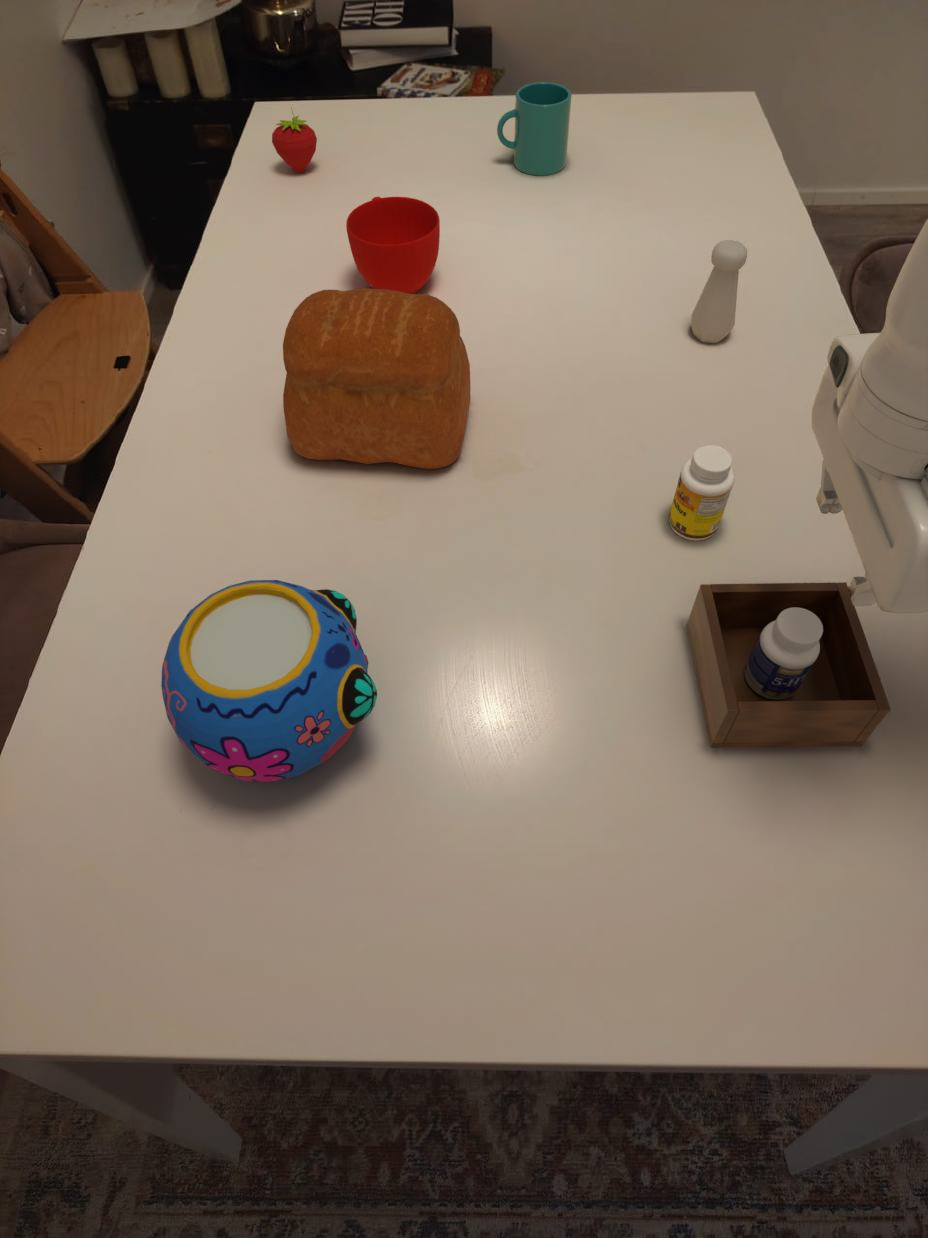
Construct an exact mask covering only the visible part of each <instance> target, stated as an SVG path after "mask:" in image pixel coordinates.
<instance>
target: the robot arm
mask: <svg viewBox="0 0 928 1238" xmlns="http://www.w3.org/2000/svg"><path fill="white" fill-rule="evenodd" d="M827 352H828V353H827V358H826V360H827V364H828V365H827V367H826V368H825V371H824V372H823V375H822V378H821V380H820V383H819V385H818V389H817V392H816V394H815V398H814V401H813V404H812V409H811V429H812V431H813V434H814V437H815V439H816V442H817V445H818V447H819V450H820V453H821V455H822V458H823V460H822V465H821V478H820V488H819V490H818V492H817V493H816V494H817V495H816V497H815V501H816V503H817V506H818V508H819V511H820V513H821V514H822V515H823V514H824V515H828V514H829V513H830V514H833V515H834V514H839V513H841V512H842V513H843V515H844V518H845V521H846V523H847V526H848V529H849V531H850V534H851V537H852V539H853V542H854V545H855V547H856V550H857V553H858V556H859V559H860V561H861V564H862V566H863V567H862V568H863V570H864V572H865V573H864V576H853V577H852V579H851V581H850V585H847V586H848V592H849V595H850V598H851V601H852V604H853V605H854V606H855V607H870V606H873V605H875V604H876V605H877V608H879V610H880V611H883V612H885V613H891V614H906V615H907V614H925V613H928V218H927V219H926V220H925V222H924V224H923V226H922V228H921V229H920V231H919V233H918V235H917V237H916V238H915V241H914V242H913V244H912V247H911V249H910V251H909V252H908V255H907V257H906V259H905V261H904V262H903V265H902V267H901V269H900V272H899V273H898V276H897V277H896V281H895V283H894V284H893V287H892V290H891V292H890V294H889V297H888V300H887V304H886V311H885V321H884V324H883V327H882V329H881V331H880V332H868V333H866V332H865V333H854V334H843V335H837V336H835V337H834V338H833V340H832V341H831V343H830V346H829V349H828V351H827Z"/></svg>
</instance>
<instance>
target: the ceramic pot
mask: <svg viewBox="0 0 928 1238" xmlns="http://www.w3.org/2000/svg"><path fill="white" fill-rule="evenodd" d="M357 619H358V618H357V613H356V609H355V607H354V605H353V603H352V602H351V601H350V600H349V598H347V597H346V596H345V595H344V594H343V593H341V592H339V591H336V590H333V589H327V588H325V589H311V588H310V589H309V588H307V587H305V586H302V585H299V584H296V583H291V582H286V581H282V580H278V579H258V580H257V579H256V580H254V579H253V580H251V579H250V580H246V581H243V582H238V583H235V584H230V585H227V586H226V587H223V588H221V589H219V590H217V591H214V592H213V593H211V594H210V595H208V596H207V597H205V598H203V600H202V601H200V602H199V603H198V604H196V605H195V606H194V607H193V608H191V609H190V610H189V611H188V613H187V614H186V615H185V617H184V619H183V620H182V621H181V623H180V624H179V626H178V627H177V628H176V629H175V631H174V633H173V634H172V635H171V637H170V639H169V642H168V645H167V647H166V648H167V649H166V651H165V654H164V657H163V661H162V664H161V665H162V667H161V685H160V686H161V694H162V695H161V696H162V699H163V704H164V709H165V713H166V717H167V719H168V722H169V724H170V726H171V727H172V729H173V731H174V733H175V735H176V736H177V738H178V739H177V740H179V742H180V744H181V745H182V746H184V747H185V748H186V749H187V750H188V751H190V753H192V754H193V756H196V757H197V758H198V759H199V760H200V761H202V762H203V763H204V764H205V765H206V766H207V767H208V768H210V769H211V770H213V771H216V772H219V773H221V774H224V775H227V776H230V777H233V778H236V779H238V780H241V781H246V782H247V781H248V782H261V783H262V782H263V783H269V782H275V781H281V780H286V779H292V778H297V777H298V776H300V775H302V774H303V773H305V772H307V771H309V770H312V769H313V768H315V767H318V766H319V765H321V764H323V763H326V762H327V761H328V760H329V759H330V758H331V757H332V756H333V755H335V753H336V752H337V751H339V749H341V747H342V746H343V745H345V744H346V742H347V741H348V739H349V738H350V737H351V735H352V733H353V732H354V730H355V729H356V727H357V725H358V723H361V722H362V721H363V720H365V719H366V718H367V717H368V716H369V715H371V713H372V711H373V710H374V708H375V706H376V702H377V699H378V690H377V687H376V682H374V680H373V679H372V677H371V676H370V675H369V674H368V668H369V659H368V656H367V655H366V653H365V652H364V649H363V647H362V645H361V642H360V639H359V637H358V635H357V626H358V625H357V621H358V620H357Z"/></svg>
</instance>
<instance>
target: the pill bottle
mask: <svg viewBox="0 0 928 1238" xmlns="http://www.w3.org/2000/svg"><path fill="white" fill-rule="evenodd" d="M822 633H823V625H822V623H821V621H820V619H819V618H818V617H817V616H816V615H815V614H814V613H812V612H810V611H809V610H806V609H803V608H798V607H793V608H788V609H785V610H784V611H782V612H781V613H780V614H779V616H778V617H777V619H776V620H775V621H773V622H771V623H769V624H768V625H767V626H766V627H765V628H764V629H763V631H762V632H761V634H760V636H759V638H758V640H757V642H756V644H755V646H754V649H753V651H752V652H751V655H750V657H749V659H748V661H747V663H746V665H745V669H744V675H745V679H746V681H747V683H748V685H749V686H750V687H751V689H752V690H753V691H755V692H756V693H757V694H759V695H761V696H763V697H765V698H768V699H773V700H780V699H786V698H788V697H790V696H792V695H793V694H794V693H795V692H796V691H797V690H798V688H799V687H800V685H801V683H802V682H803V680H804V679H805V677H806V675H807V674H808V672H809V671H810V669H811V667H812V666H813V664H814V662H815V661H816V659H817V657H818V655H819V652H820V643H819V640H820V638H821V636H822Z"/></svg>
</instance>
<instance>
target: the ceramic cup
mask: <svg viewBox="0 0 928 1238" xmlns="http://www.w3.org/2000/svg"><path fill="white" fill-rule="evenodd" d="M439 215H440V214H439V212H438V211H437V210H436V209H435V207H433V206H432V205H431V204H429V203H427V202H426V201H423V200H421V199H417V198H413V197H407V196H387V197H385V196H384V197H381V196H373V197H372V198H371V200H369V201H366V202H364V203H361V204H360V205H358V206H357V207H355V208H354V209H353V210H352V211H351V212H350V213H349V214H348V217H347V218H346V223H345V227H346V234H347V239H348V243H349V247H350V251H351V255H352V258H353V261H354V264H355V266H356V268H357V270H358V272H359V274H360V275H361V277H362V278H363V280H364V281H365V282H366V283H367V284H368V285H369V286H370V287H371V288H372V289H386V290H394V291H399V292H404V293H409V294H417V292H419V291H420V289H421V288H423V287H424V285H425V284H426V283H427V282H428V280H429V279H430V278H431V276H432V274H433V273H434V269H435V266H436V264H437V261H438V257H439V250H440V237H441V235H440V234H441V230H440V229H441V227H440V225H441V224H440V223H441V221H440V216H439Z"/></svg>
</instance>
